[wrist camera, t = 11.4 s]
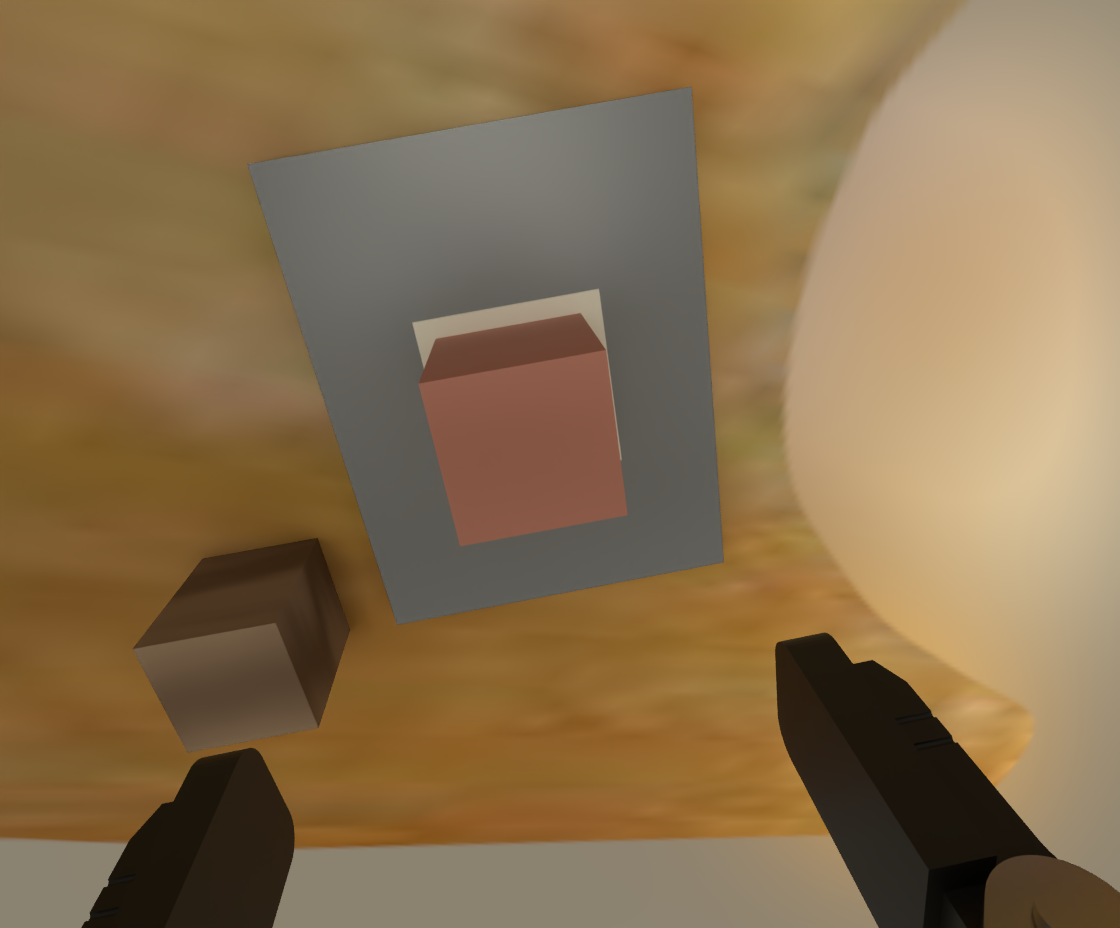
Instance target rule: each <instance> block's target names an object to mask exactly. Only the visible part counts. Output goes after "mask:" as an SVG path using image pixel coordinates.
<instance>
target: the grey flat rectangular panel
mask: <svg viewBox="0 0 1120 928" xmlns="http://www.w3.org/2000/svg"><path fill="white" fill-rule="evenodd" d="M247 165H248V168H249V171H250V174H251V177H252V180H253V183H254V186H255V189H256V193H257V196H258V199H259V202H260V205H261V208H262V211H263V214H264V217H265V220H266V223H267V226H268V229H269V232H270V236H271V239H272V242H273V245H274V248H275V251H276V254H277V257H278V260H279V263H280V266H281V269H282V272H283V275H284V278H285V282H286V285H287V288H288V291H289V294H290V297H291V300H292V303H293V306H294V309H295V312H296V315H297V318H298V321H299V325H300V328H301V331H302V334H303V337H304V340H305V343H306V346H307V349H308V352H309V355H310V358H311V361H312V364H313V368H314V371H315V374H316V377H317V380H318V383H319V386H320V389H321V392H322V395H323V398H324V401H325V404H326V407H327V411H328V414H329V417H330V420H331V423H332V426H333V429H334V432H335V435H336V438H337V441H338V444H339V447H340V450H341V454H342V457H343V460H344V463H345V466H346V469H347V472H348V475H349V478H350V481H351V484H352V487H353V490H354V493H355V497H356V500H357V503H358V506H359V509H360V512H361V515H362V518H363V521H364V524H365V527H366V530H367V533H368V536H369V540H370V543H371V546H372V549H373V552H374V555H375V558H376V561H377V564H378V567H379V570H380V573H381V576H382V579H383V583H384V586H385V589H386V592H387V595H388V598H389V601H390V604H391V607H392V610H393V613H394V616H395V619H396V622H397V625H399V624H404V623H409V622H414V621H420V620H425V619H430V618H435V617H441V616H446V615H451V614H456V613H461V612H467V611H472V610H477V609H482V608H488V607H493V606H498V605H503V604H508V603H514V602H519V601H524V600H529V599H535V598H540V597H545V596H550V595H555V594H561V593H566V592H571V591H576V590H582V589H587V588H592V587H597V586H602V585H608V584H613V583H618V582H623V581H629V580H634V579H639V578H644V577H649V576H655V575H660V574H665V573H670V572H676V571H681V570H686V569H691V568H696V567H702V566H707V565H712V564H717V563H723V562H724V559H723V544H722V529H721V515H720V500H719V485H718V471H717V456H716V441H715V426H714V412H713V397H712V382H711V368H710V353H709V338H708V323H707V309H706V294H705V279H704V265H703V250H702V235H701V221H700V206H699V191H698V176H697V162H696V147H695V132H694V118H693V103H692V88H691V87H687V88H681V89H675V90H670V91H664V92H658V93H652V94H647V95H641V96H635V97H630V98H624V99H618V100H612V101H607V102H601V103H595V104H589V105H584V106H578V107H572V108H567V109H561V110H555V111H549V112H544V113H538V114H532V115H526V116H521V117H515V118H509V119H503V120H498V121H492V122H486V123H481V124H475V125H469V126H463V127H458V128H452V129H446V130H440V131H435V132H429V133H423V134H417V135H412V136H406V137H400V138H395V139H389V140H383V141H377V142H372V143H366V144H360V145H354V146H349V147H343V148H337V149H331V150H326V151H320V152H314V153H309V154H303V155H297V156H291V157H286V158H280V159H274V160H268V161H263V162H257V163H251V164H247ZM578 313H581V314H582V316H583V317H584V319H585V320H586V322H587V323H588V324H589V326H590V327H591V329H592V330H593V332H594V333H595V335H596V336H597V338H598V339H599V340H600V342H601V343H602V345H603V346H604V348H605V349H606V353H607V360H608V368H609V376H610V383H611V391H612V399H613V406H614V414H615V422H616V429H617V437H618V445H619V452H620V460H621V468H622V475H623V483H624V491H625V498H626V506H627V514H628V515H626V516H621V517H615V518H610V519H605V520H599V521H594V522H589V523H583V524H578V525H572V526H567V527H562V528H556V529H551V530H546V531H540V532H535V533H529V534H524V535H519V536H513V537H508V538H503V539H497V540H492V541H486V542H481V543H476V544H470V545H465V546H460V544H459V540H458V536H457V532H456V528H455V524H454V521H453V517H452V513H451V509H450V505H449V501H448V497H447V493H446V489H445V485H444V482H443V478H442V474H441V470H440V466H439V462H438V458H437V454H436V450H435V446H434V443H433V439H432V435H431V431H430V427H429V423H428V419H427V415H426V411H425V407H424V404H423V400H422V396H421V392H420V388H419V381H420V378H421V376H422V373H423V370H424V368H425V365H426V363H427V360H428V357H429V355H430V352H431V349H432V347H433V344H434V342H435V339H437V338H443V337H449V336H454V335H460V334H466V333H471V332H477V331H482V330H488V329H494V328H499V327H505V326H510V325H516V324H522V323H527V322H533V321H539V320H544V319H550V318H555V317H561V316H567V315H572V314H578Z"/></svg>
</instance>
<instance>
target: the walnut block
mask: <svg viewBox="0 0 1120 928" xmlns="http://www.w3.org/2000/svg"><path fill="white" fill-rule="evenodd" d="M349 631H350V629H349V626H348V624H347V621H346V618H345V615H344V612H343V609H342V607H341V604H340V601H339V598H338V595H337V592H336V590H335V587H334V584H333V581H332V578H331V575H330V572H329V570H328V567H327V564H326V561H325V558H324V555H323V553H322V550H321V547H320V544H319V541H318V538H316V539H310V540H304V541H299V542H293V543H288V544H282V545H277V546H271V547H265V548H260V549H254V550H249V551H243V552H238V553H232V554H226V555H221V556H215V557H210V558H204V559H202V560H201V562H200V563H199V564H198V565H197V567H196V568H195V569H194V571H193V572H192V573H191V574H190V576H189V577H188V578H187V580H186V581H185V582H184V583H183V585H182V586H181V587H180V589H179V590H178V591H177V592H176V594H175V595H174V596H173V598H172V599H171V600H170V602H169V603H168V604H167V605H166V607H165V608H164V609H163V611H162V612H161V613H160V614H159V616H158V617H157V618H156V620H155V621H154V622H153V623H152V625H151V626H150V627H149V629H148V630H147V631H146V632H145V634H144V635H143V636H142V638H141V639H140V640H139V642H138V643H137V644H136V645H135V647H134V648H133V651H134V653H135V655H136V656H137V658H138V660H139V662H140V664H141V666H142V668H143V670H144V672H145V673H146V675H147V677H148V679H149V681H150V683H151V685H152V687H153V688H154V690H155V692H156V694H157V696H158V698H159V700H160V702H161V704H162V705H163V707H164V709H165V711H166V713H167V715H168V717H169V719H170V720H171V722H172V724H173V726H174V728H175V730H176V732H177V734H178V736H179V737H180V739H181V741H182V743H183V745H184V747H185V749H186V751H187V752H193V751H199V750H204V749H209V748H215V747H220V746H225V745H231V744H236V743H241V742H247V741H252V740H257V739H262V738H268V737H273V736H278V735H284V734H289V733H294V732H300V731H305V730H310V729H315V728H319V725H320V722H321V718H322V715H323V712H324V709H325V706H326V703H327V700H328V697H329V693H330V690H331V687H332V684H333V681H334V678H335V675H336V672H337V668H338V665H339V662H340V659H341V656H342V653H343V650H344V647H345V643H346V640H347V637H348V634H349Z"/></svg>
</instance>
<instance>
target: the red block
mask: <svg viewBox="0 0 1120 928" xmlns="http://www.w3.org/2000/svg"><path fill="white" fill-rule="evenodd" d="M419 388H420V392H421V396H422V400H423V404H424V407H425V411H426V415H427V419H428V423H429V427H430V431H431V435H432V439H433V443H434V446H435V450H436V454H437V458H438V462H439V466H440V470H441V474H442V478H443V482H444V485H445V489H446V493H447V497H448V501H449V505H450V509H451V513H452V517H453V521H454V524H455V528H456V532H457V536H458V540H459V544H460V546H465V545H470V544H476V543H481V542H486V541H492V540H497V539H503V538H508V537H513V536H519V535H524V534H529V533H535V532H540V531H546V530H551V529H556V528H562V527H567V526H572V525H578V524H583V523H589V522H594V521H599V520H605V519H610V518H615V517H621V516H626V515H628V514H627V506H626V498H625V491H624V483H623V475H622V468H621V460H620V452H619V445H618V437H617V429H616V422H615V414H614V406H613V399H612V391H611V383H610V376H609V368H608V360H607V353H606V349H605V348H604V346H603V345H602V343H601V342H600V340H599V339H598V338H597V336H596V335H595V333H594V332H593V330H592V329H591V327H590V326H589V324H588V323H587V322H586V320H585V319H584V317H583V316H582V314H581V313H578V314H572V315H567V316H561V317H555V318H550V319H544V320H539V321H533V322H527V323H522V324H516V325H510V326H505V327H499V328H494V329H488V330H482V331H477V332H471V333H466V334H460V335H454V336H449V337H443V338H437V339H435V342H434V344H433V347H432V349H431V352H430V355H429V357H428V360H427V363H426V365H425V368H424V370H423V373H422V376H421V378H420V381H419Z"/></svg>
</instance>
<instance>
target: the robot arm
mask: <svg viewBox="0 0 1120 928" xmlns="http://www.w3.org/2000/svg"><path fill="white" fill-rule="evenodd" d="M775 658H776V682H777V706H778V720H779V725H780V730H781V734H782V737H783V740H784V743H785V746H786V749H787V751H788V754H789V756H790V758H791V760H792V762H793V764H794V766H795V768H796V770H797V772H798V774H799V776H800V777H801V779H802V781H803V783H804V785H805V787H806V789H807V791H808V793H809V795H810V797H811V799H812V800H813V802H814V804H815V806H816V808H817V810H818V812H819V814H820V816H821V818H822V820H823V822H824V823H825V825H826V827H827V829H828V831H829V833H830V835H831V837H832V839H833V841H834V843H835V845H836V846H837V848H838V850H839V852H840V854H841V856H842V858H843V860H844V862H845V864H846V866H847V868H848V869H849V871H850V873H851V875H852V877H853V879H854V881H855V883H856V885H857V887H858V889H859V891H860V892H861V894H862V896H863V898H864V900H865V902H866V904H867V906H868V908H869V910H870V911H871V914H872V916H873V917H874V919H875V921H876V923H877V925H878V927H879V928H1120V892H1118V891H1117V890H1115V889H1114V888H1113V887H1112V886H1110V885H1109V884H1108V883H1107V882H1105V881H1103V880H1102V879H1100V878H1099V877H1097V876H1096V875H1094V874H1092V873H1090V872H1089V871H1087V870H1085V869H1083V868H1081V867H1079V866H1076V865H1074V864H1071V863H1069V862H1066V861H1063V860H1059V859H1057V858H1056V857H1055V856H1054V855H1053V854H1052V853H1050V852H1049V851H1048V849H1047V848H1046V847H1045V846H1044V845H1043V844H1042V843H1041V842H1040V841H1039V840H1038V838H1037V837H1036V836H1035V835H1034V834H1033V832H1032V831H1031V830H1030V829H1029V828H1028V826H1027V825H1026V824H1025V823H1024V822H1023V820H1022V819H1021V818H1020V817H1019V816H1018V815H1017V813H1016V812H1015V811H1014V810H1013V809H1012V807H1011V806H1010V805H1009V804H1008V803H1007V802H1006V800H1005V799H1004V798H1003V797H1002V795H1001V794H1000V793H999V792H998V791H997V789H996V788H995V787H994V786H993V785H992V783H991V782H990V781H989V780H988V779H987V777H986V776H985V775H984V774H983V773H982V771H981V770H980V769H979V768H978V767H977V765H976V764H975V763H974V762H973V761H972V759H971V758H970V757H969V756H968V755H967V753H966V752H965V751H964V750H963V749H962V747H961V746H960V745H959V744H958V743H955V742H954V741H953V739H952V735H951V734H950V733H949V732H948V731H947V729H946V728H945V727H944V726H943V725H942V723H941V722H940V721H939V720H938V719H937V717H933V716H932V713H931V710H930V709H929V708H928V707H927V706H926V704H925V703H924V702H923V701H922V700H921V698H920V697H919V696H918V695H917V694H916V692H915V691H914V690H913V689H912V688H911V686H910V685H909V684H908V683H907V682H906V681H905V680H903V679H901V678H900V677H898V676H897V675H895V674H894V673H892V672H890V671H889V670H887V669H886V668H884V667H883V666H881V665H880V664H878V663H876V662H875V661H873V660H871V661H866V662H861V663H856V664H853V663H852V662H851V661H850V659H849V658H848V657H847V655H846V654H845V653H844V651H843V650H842V649H841V647H840V646H839V645H838V643H837V642H836V641H835V640H834V638H833V637H832V636H831V635H830V634H828V633H820V634H815V635H810V636H805V637H801V638H796V639H791V640H786V641H781V642H778V643H777V644H776V649H775ZM294 839H295V838H294V825H293V820H292V817H291V814H290V812H289V810H288V808H287V806H286V804H285V802H284V800H283V798H282V796H281V794H280V792H279V790H278V788H277V786H276V784H275V782H274V780H273V778H272V776H271V774H270V772H269V770H268V768H267V766H266V764H265V762H264V760H263V758H262V756H261V754H260V753H259V752H258V751H257V750H256V749H254V748H248V749H243V750H238V751H233V752H228V753H223V754H218V755H214V756H209V757H204V758H201V759H199V760H197V761H196V762H195V763H194V764H193V765H192V767H191V769H190V770H189V772H188V774H187V776H186V778H185V780H184V782H183V784H182V786H181V788H180V790H179V792H178V794H177V796H176V797H175V799H174V801H173V802H169V803H165V804H162V805H161V806H160V807H159V808H158V809H157V810H156V811H155V813H154V814H153V815H152V816H151V817H150V818H149V819H148V820H147V821H146V823H145V824H144V825H143V826H142V827H141V828H140V829H139V830H138V831H137V833H136V834H135V835H134V836H133V837H132V838H131V839H130V841H129V842H128V844H127V846H126V848H125V850H124V851H123V853H122V855H121V857H120V859H119V861H118V862H117V864H116V866H115V868H114V870H113V871H112V873H111V875H110V877H109V879H108V881H109V884H108V886H107V887H104V888H103V890H102V891H101V893H100V895H99V897H98V899H97V900H96V902H95V904H94V906H93V908H92V910H91V912H90V919H89V921H86V922H84V924H83V926H82V928H272V927H273V923H274V920H275V916H276V913H277V910H278V906H279V903H280V899H281V896H282V892H283V889H284V886H285V882H286V879H287V876H288V872H289V869H290V865H291V862H292V858H293V852H294Z"/></svg>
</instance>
